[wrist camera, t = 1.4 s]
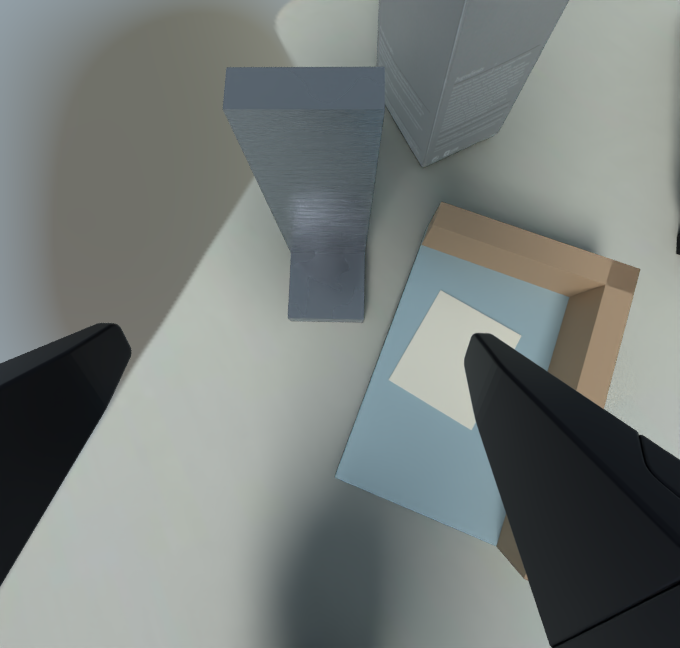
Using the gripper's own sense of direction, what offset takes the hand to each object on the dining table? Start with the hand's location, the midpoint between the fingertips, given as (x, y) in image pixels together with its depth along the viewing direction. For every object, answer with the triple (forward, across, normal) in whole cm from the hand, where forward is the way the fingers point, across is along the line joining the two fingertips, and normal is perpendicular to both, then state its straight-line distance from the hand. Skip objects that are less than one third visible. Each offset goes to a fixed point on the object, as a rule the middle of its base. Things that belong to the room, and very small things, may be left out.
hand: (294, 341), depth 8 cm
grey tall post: (+14, 0, +5) cm, 15 cm away
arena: (+9, -9, +10) cm, 16 cm away
